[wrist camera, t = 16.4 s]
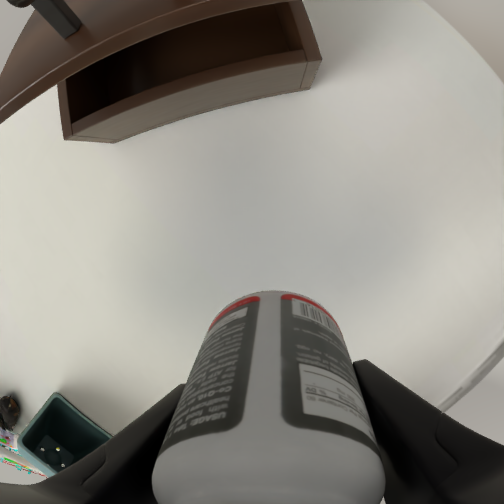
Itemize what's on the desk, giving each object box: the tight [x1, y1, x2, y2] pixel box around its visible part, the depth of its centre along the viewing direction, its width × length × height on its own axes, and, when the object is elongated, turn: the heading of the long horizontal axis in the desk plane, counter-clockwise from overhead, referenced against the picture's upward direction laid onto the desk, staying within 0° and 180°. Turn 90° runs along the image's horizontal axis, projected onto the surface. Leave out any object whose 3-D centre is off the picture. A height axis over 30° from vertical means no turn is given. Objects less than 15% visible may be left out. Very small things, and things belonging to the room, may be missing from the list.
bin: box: [57, 0, 322, 143], centre depth 13 cm, size 11×13×6 cm
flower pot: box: [17, 393, 112, 477], centre depth 23 cm, size 9×9×9 cm
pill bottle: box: [152, 291, 386, 504], centre depth 6 cm, size 5×5×8 cm
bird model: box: [0, 395, 19, 431], centre depth 28 cm, size 3×14×3 cm, turn 147°
